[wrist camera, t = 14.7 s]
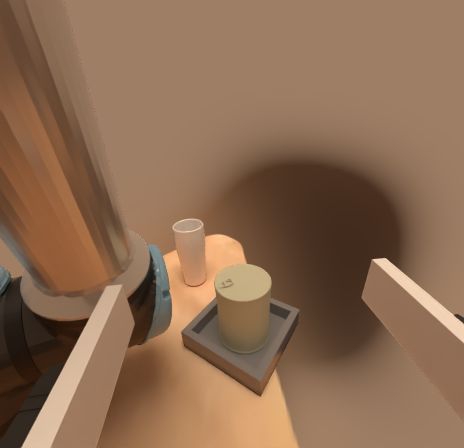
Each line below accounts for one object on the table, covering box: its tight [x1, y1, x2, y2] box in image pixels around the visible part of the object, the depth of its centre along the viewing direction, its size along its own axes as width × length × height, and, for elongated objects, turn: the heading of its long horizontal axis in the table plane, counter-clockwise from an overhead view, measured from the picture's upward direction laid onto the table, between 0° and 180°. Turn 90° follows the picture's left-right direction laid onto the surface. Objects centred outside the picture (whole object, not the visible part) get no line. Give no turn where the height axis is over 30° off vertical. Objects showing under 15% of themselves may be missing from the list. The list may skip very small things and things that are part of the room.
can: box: [214, 264, 271, 354], centre depth 40 cm, size 9×9×12 cm
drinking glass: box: [173, 219, 206, 286], centre depth 55 cm, size 7×7×15 cm
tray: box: [181, 298, 299, 396], centre depth 43 cm, size 15×15×4 cm
